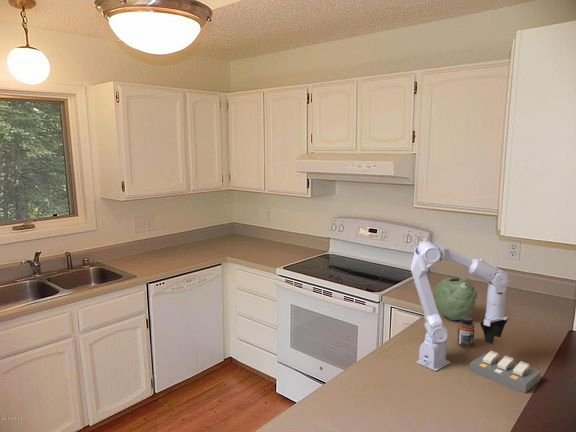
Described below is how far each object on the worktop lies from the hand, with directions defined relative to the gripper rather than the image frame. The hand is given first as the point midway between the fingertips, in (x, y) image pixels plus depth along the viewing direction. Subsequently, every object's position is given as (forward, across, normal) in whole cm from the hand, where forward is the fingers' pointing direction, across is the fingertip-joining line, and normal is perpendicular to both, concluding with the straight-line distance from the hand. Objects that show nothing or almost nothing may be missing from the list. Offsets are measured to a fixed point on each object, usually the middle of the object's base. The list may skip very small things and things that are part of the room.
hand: (493, 339), depth 147 cm
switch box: (+9, -5, -6) cm, 12 cm away
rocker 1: (+5, -4, -1) cm, 6 cm away
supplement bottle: (+10, +9, +13) cm, 19 cm away
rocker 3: (+5, -5, -11) cm, 13 cm away
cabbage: (+10, +32, +28) cm, 43 cm away
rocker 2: (+5, -4, -6) cm, 9 cm away
